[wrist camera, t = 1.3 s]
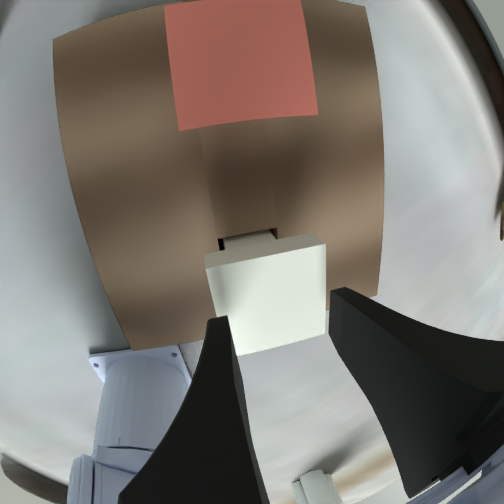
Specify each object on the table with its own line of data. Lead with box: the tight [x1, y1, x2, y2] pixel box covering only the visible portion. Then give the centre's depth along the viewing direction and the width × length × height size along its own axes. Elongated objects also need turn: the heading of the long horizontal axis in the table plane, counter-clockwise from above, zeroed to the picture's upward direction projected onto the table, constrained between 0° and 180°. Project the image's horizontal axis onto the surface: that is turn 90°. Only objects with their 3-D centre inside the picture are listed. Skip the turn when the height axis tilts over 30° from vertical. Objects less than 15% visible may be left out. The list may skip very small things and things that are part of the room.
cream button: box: [204, 229, 326, 356], centre depth 13 cm, size 4×4×5 cm
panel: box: [53, 0, 384, 351], centre depth 15 cm, size 18×16×4 cm
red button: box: [164, 0, 318, 131], centre depth 9 cm, size 4×4×5 cm
